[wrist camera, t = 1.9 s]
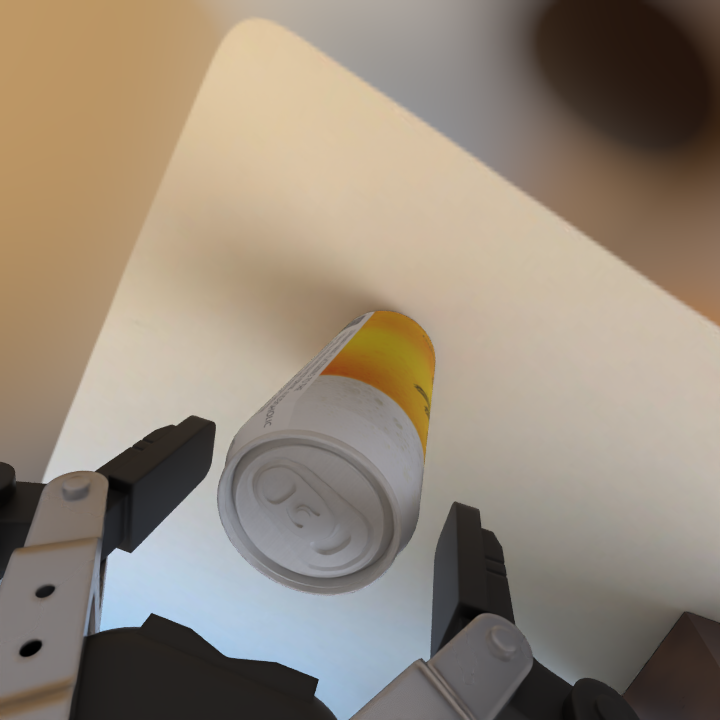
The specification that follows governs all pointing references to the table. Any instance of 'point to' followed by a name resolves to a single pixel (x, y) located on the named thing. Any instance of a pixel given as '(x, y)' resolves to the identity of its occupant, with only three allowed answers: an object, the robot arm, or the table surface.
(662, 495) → the table surface
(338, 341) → the beer can
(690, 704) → the walnut stand
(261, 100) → the table surface
